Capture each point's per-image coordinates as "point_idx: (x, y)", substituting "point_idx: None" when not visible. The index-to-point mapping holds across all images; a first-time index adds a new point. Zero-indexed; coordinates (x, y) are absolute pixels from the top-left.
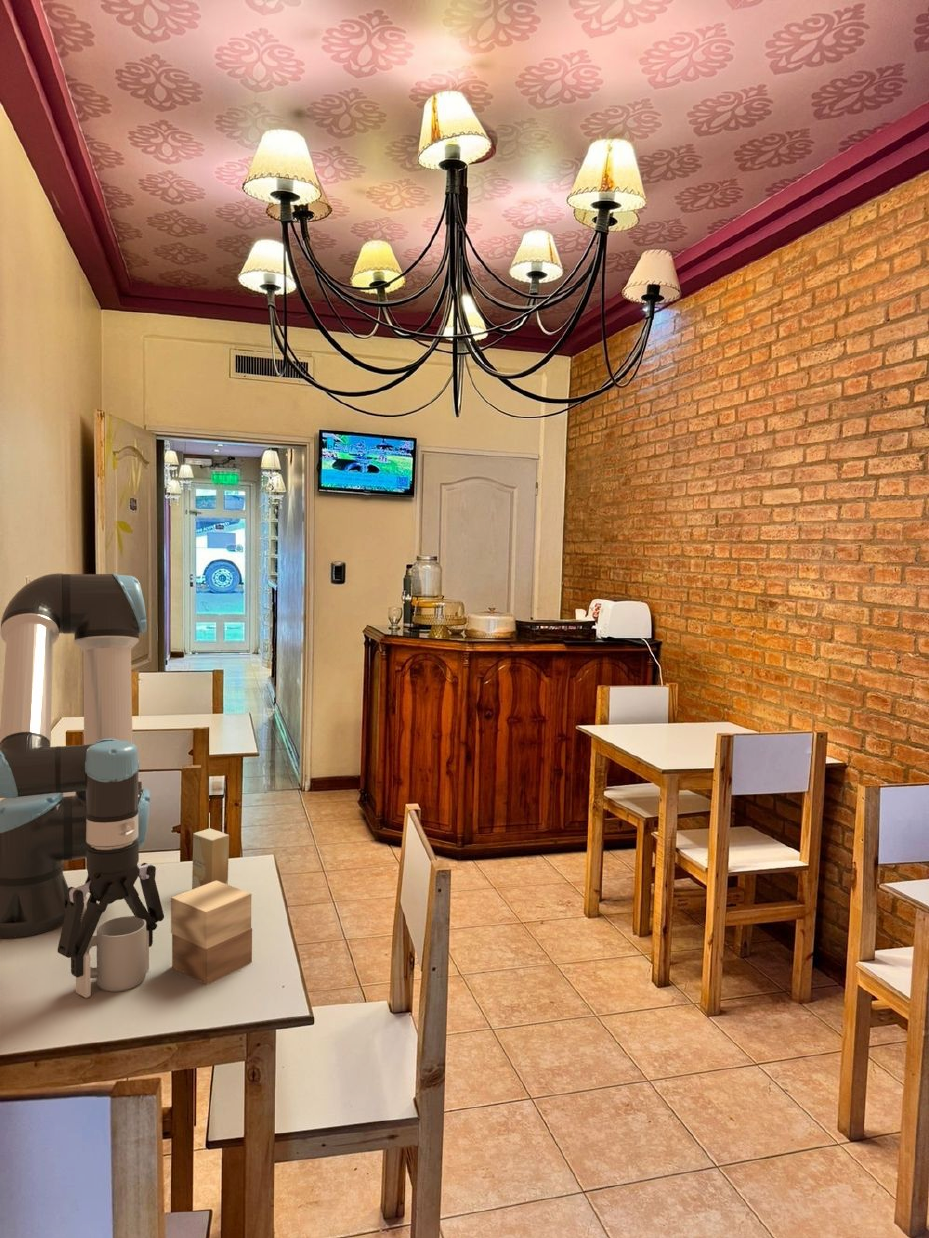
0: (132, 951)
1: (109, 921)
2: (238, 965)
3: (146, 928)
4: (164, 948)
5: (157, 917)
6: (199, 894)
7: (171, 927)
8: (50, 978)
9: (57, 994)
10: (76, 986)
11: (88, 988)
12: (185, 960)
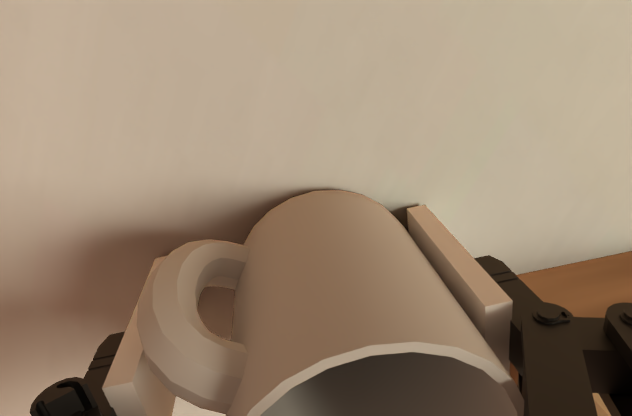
0: None
1: (363, 350)
2: None
3: (514, 365)
4: (570, 129)
5: (606, 400)
6: None
7: (596, 404)
8: (86, 56)
9: (91, 217)
10: (151, 272)
11: None
12: (516, 372)
